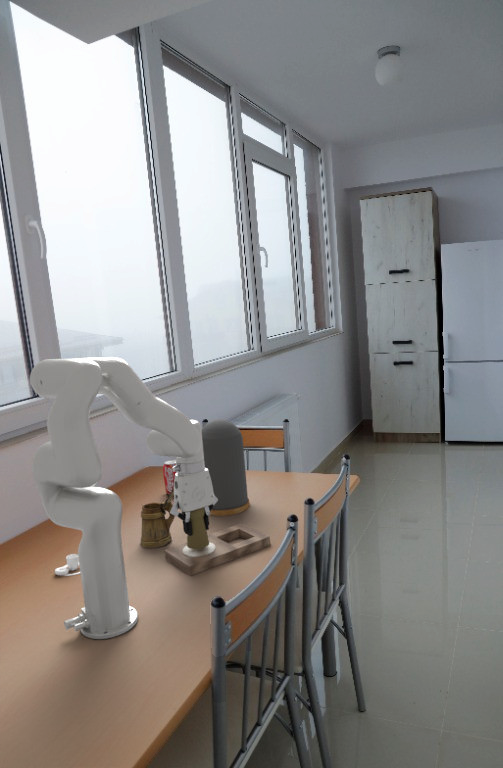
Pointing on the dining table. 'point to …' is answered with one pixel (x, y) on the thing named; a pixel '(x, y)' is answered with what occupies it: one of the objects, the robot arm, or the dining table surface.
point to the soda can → (169, 475)
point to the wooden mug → (156, 523)
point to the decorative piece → (225, 466)
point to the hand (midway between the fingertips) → (196, 530)
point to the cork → (197, 530)
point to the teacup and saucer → (69, 566)
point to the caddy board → (217, 549)
